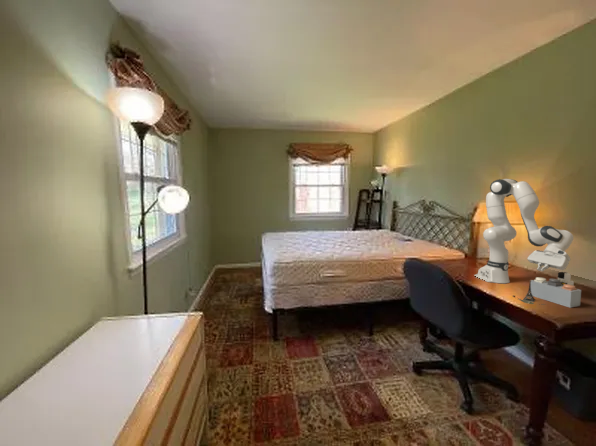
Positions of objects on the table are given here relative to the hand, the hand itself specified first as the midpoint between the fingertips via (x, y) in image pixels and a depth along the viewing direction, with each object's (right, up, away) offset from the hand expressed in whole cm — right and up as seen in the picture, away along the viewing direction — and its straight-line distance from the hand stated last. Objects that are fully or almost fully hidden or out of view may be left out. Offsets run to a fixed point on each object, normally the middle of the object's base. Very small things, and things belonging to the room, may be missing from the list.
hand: (539, 270), depth 184 cm
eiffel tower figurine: (-11, -17, -4) cm, 21 cm away
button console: (+3, -17, -6) cm, 18 cm away
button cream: (+1, -13, +1) cm, 13 cm away
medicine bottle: (+22, -15, +9) cm, 28 cm away
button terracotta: (+6, -14, -13) cm, 20 cm away
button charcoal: (+3, -12, -6) cm, 14 cm away
